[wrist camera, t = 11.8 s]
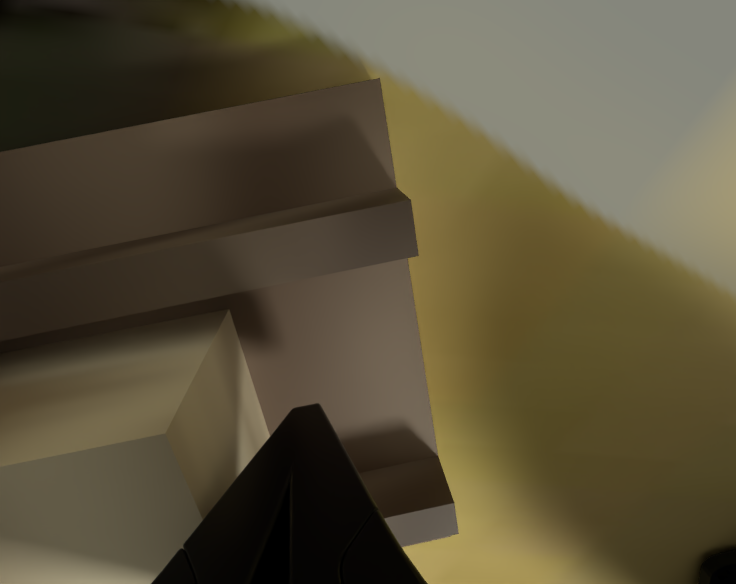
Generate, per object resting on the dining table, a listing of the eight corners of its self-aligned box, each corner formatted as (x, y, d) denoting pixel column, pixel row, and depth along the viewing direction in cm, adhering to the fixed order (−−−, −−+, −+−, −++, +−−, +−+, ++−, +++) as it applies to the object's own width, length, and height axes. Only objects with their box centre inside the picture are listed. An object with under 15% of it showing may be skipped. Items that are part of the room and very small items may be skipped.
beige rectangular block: (-79, 542, 11) (-294, 765, 7) (-199, 392, 9) (-567, 580, 5) (280, 468, 11) (258, 647, 7) (229, 308, 9) (165, 433, 6)
